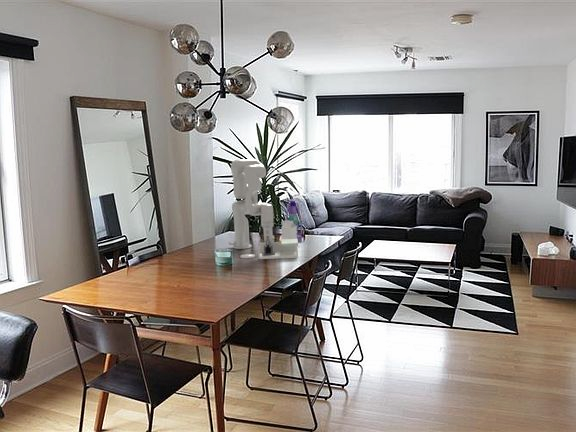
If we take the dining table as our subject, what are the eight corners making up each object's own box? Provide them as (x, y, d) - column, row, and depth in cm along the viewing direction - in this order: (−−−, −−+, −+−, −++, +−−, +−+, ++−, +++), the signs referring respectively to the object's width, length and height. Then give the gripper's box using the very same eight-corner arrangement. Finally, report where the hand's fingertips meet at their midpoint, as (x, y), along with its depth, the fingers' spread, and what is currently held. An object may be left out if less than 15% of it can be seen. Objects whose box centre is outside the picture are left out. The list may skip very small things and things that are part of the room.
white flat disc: (239, 258, 348) (239, 257, 347) (241, 255, 356) (241, 254, 356) (254, 258, 347) (254, 256, 347) (255, 255, 356) (255, 253, 356)
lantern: (289, 243, 391) (288, 200, 386) (281, 241, 401) (280, 199, 397) (306, 241, 397) (305, 198, 393) (298, 239, 407) (296, 197, 403)
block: (264, 257, 349) (264, 246, 348) (264, 255, 354) (264, 244, 353) (272, 257, 349) (272, 245, 348) (272, 255, 354) (272, 244, 353)
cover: (279, 246, 343) (279, 240, 343) (280, 241, 358) (280, 236, 358) (298, 245, 343) (297, 239, 343) (297, 240, 358) (297, 235, 358)
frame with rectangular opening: (258, 259, 344) (257, 247, 343) (259, 254, 359) (259, 242, 358) (298, 257, 344) (297, 245, 343) (297, 252, 359) (297, 241, 358)
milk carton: (290, 250, 366) (289, 221, 364) (282, 249, 370) (281, 221, 368) (297, 248, 372) (296, 220, 369) (288, 248, 376) (287, 219, 373)
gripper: (273, 226, 340) (274, 254, 343) (273, 222, 358) (275, 249, 360) (260, 226, 341) (261, 255, 343) (262, 222, 358) (263, 249, 360)
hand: (268, 251), depth 351 cm, fingers open, 8 cm apart
